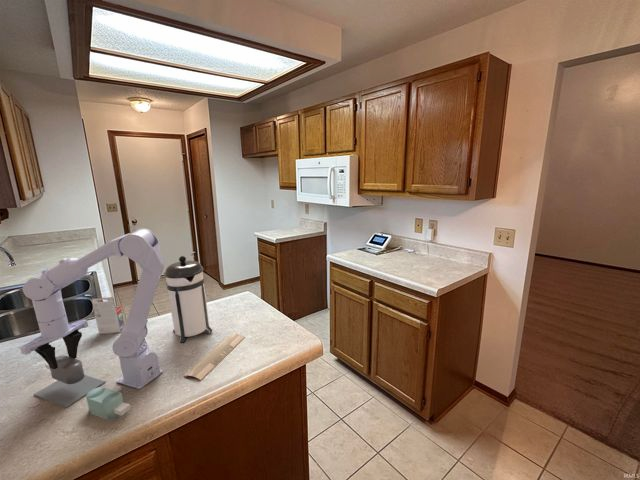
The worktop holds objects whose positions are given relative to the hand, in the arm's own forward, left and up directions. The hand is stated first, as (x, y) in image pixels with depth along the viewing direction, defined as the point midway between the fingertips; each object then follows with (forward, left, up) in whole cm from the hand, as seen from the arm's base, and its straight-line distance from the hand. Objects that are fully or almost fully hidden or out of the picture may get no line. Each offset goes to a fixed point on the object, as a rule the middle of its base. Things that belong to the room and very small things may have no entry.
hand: (63, 362), depth 82 cm
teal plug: (-19, +2, -8) cm, 21 cm away
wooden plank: (-30, -26, -9) cm, 41 cm away
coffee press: (-10, -35, -9) cm, 37 cm away
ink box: (+20, -26, -9) cm, 34 cm away
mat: (0, 0, -8) cm, 8 cm away
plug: (+1, 0, -4) cm, 4 cm away
